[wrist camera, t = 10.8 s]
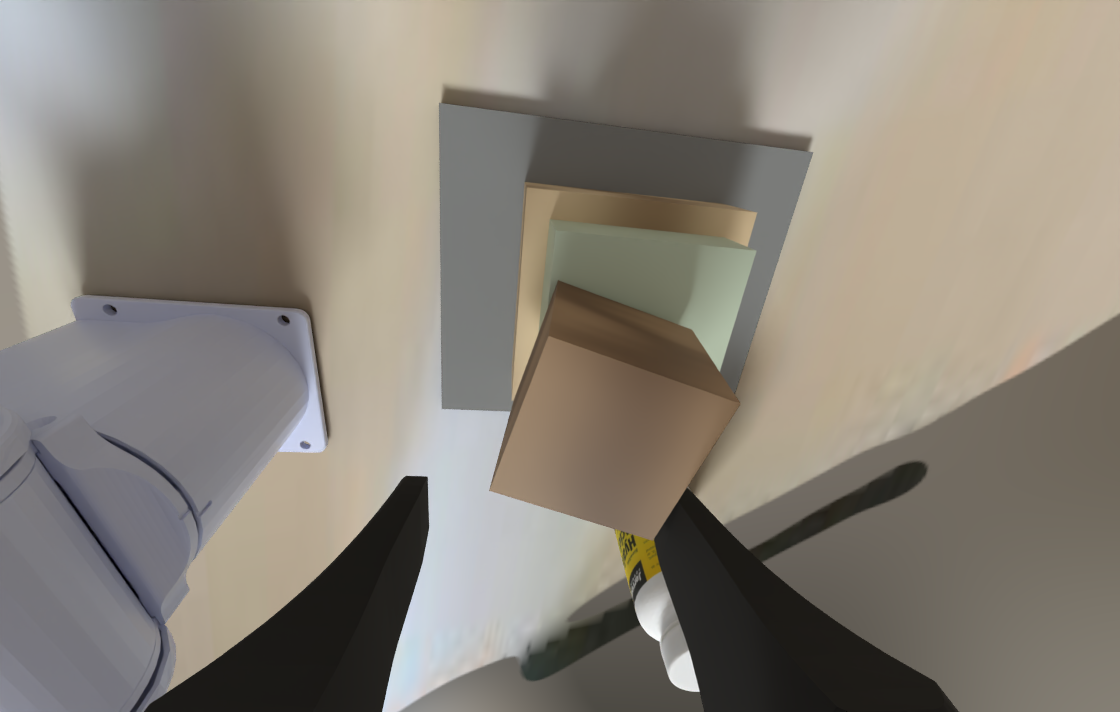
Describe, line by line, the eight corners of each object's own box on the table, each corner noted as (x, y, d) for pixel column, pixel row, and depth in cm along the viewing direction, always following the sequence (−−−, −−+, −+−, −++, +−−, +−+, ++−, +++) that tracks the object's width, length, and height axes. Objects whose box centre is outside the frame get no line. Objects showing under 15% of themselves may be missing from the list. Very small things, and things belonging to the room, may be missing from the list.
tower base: (511, 370, 22) (511, 400, 19) (524, 181, 18) (526, 187, 16) (678, 378, 23) (700, 408, 21) (723, 203, 19) (757, 212, 17)
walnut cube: (514, 399, 17) (489, 490, 12) (558, 280, 15) (548, 335, 10) (633, 439, 17) (652, 540, 13) (692, 329, 15) (740, 403, 11)
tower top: (533, 382, 19) (536, 413, 17) (549, 219, 16) (555, 230, 14) (682, 390, 20) (704, 420, 18) (724, 237, 17) (756, 250, 15)
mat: (443, 403, 23) (441, 408, 23) (441, 104, 17) (439, 102, 17) (722, 414, 25) (726, 419, 25) (806, 152, 19) (813, 152, 19)
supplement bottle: (602, 482, 27) (647, 646, 18) (687, 462, 27) (774, 616, 18) (615, 541, 29) (660, 712, 20) (693, 523, 29) (772, 685, 20)
